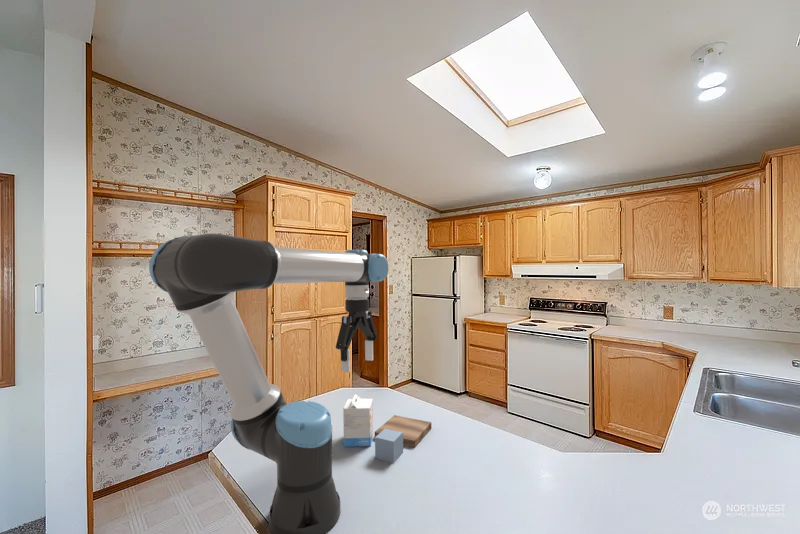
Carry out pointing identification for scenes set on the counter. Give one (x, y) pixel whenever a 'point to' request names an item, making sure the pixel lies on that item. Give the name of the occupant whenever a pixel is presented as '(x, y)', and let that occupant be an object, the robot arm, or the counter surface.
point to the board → (407, 429)
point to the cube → (389, 445)
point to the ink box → (358, 422)
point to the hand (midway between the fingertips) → (358, 365)
